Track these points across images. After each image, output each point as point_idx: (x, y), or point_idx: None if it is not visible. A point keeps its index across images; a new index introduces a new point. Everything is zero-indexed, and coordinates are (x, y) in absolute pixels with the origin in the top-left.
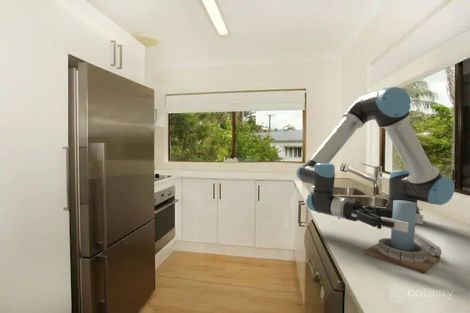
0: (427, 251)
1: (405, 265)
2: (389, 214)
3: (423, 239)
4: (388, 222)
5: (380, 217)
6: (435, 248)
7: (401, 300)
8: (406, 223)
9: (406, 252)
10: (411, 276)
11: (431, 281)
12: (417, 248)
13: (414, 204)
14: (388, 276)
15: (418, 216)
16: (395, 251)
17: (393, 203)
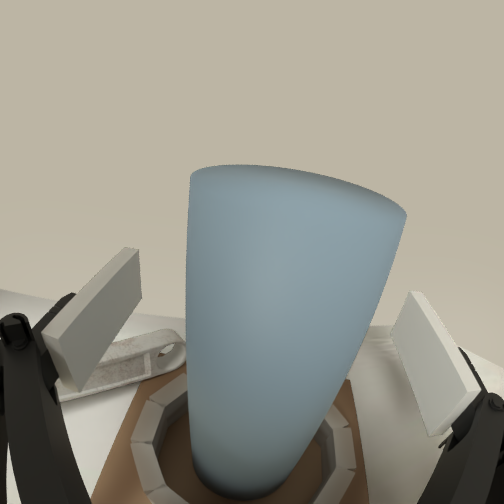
0: (149, 377)
1: (356, 424)
2: (62, 444)
3: (111, 359)
4: (470, 366)
5: (482, 409)
6: (183, 341)
7: (490, 375)
8: (421, 298)
9: (332, 411)
10: (396, 400)
11: (375, 368)
12: (187, 398)
13: (319, 175)
14: (451, 427)
15: (129, 269)
16: (352, 445)
17: (376, 256)
